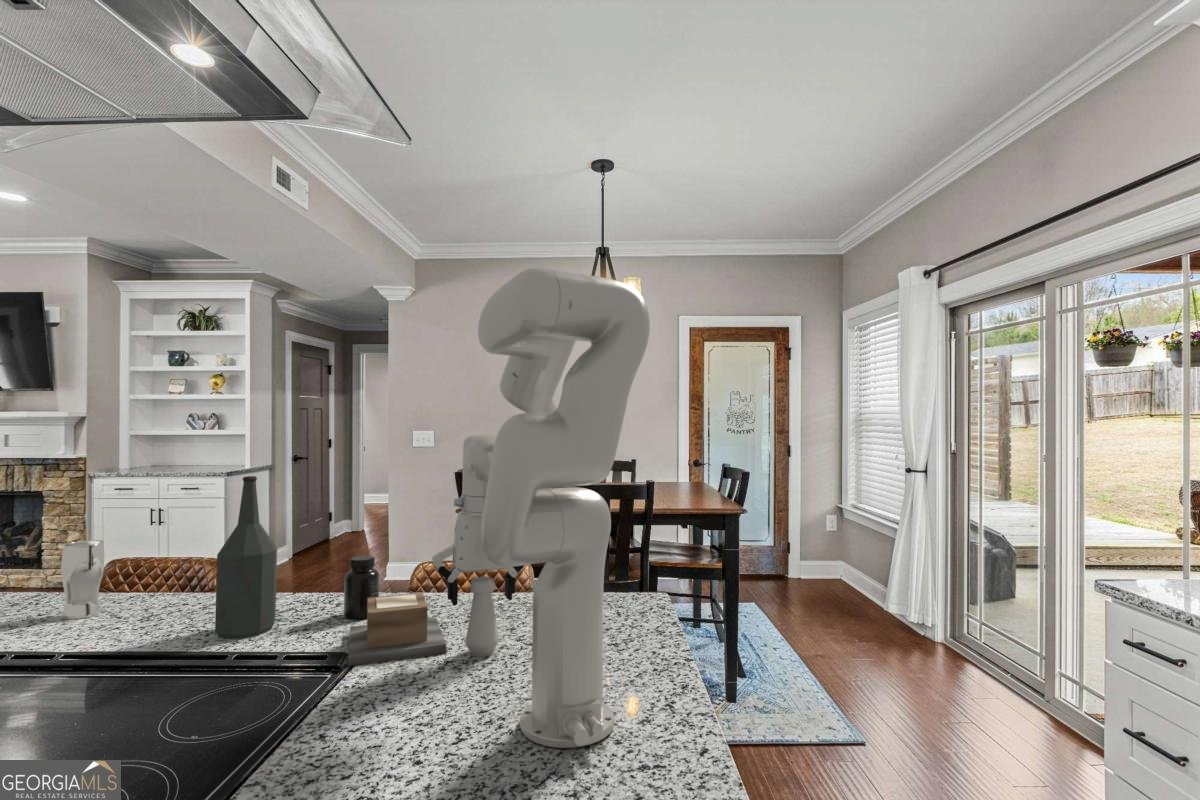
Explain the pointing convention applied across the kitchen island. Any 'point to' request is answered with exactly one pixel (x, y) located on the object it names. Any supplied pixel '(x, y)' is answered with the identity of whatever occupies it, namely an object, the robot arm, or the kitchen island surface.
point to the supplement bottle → (360, 587)
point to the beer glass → (82, 577)
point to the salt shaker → (482, 619)
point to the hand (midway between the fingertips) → (481, 600)
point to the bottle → (246, 574)
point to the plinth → (394, 649)
